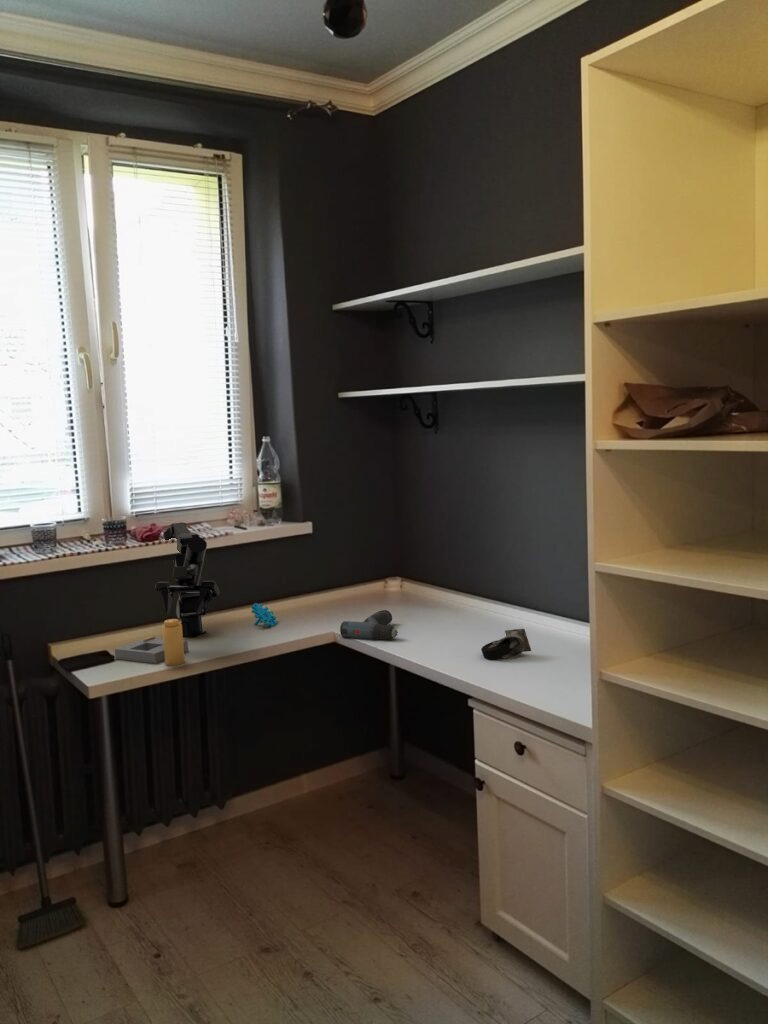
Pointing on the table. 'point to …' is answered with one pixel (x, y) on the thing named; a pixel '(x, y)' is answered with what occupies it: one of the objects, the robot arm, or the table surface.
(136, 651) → the block
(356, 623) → the power drill
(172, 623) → the yellow cylinder
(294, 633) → the table surface
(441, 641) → the table surface
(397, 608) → the table surface
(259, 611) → the gear
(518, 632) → the caster wheel
